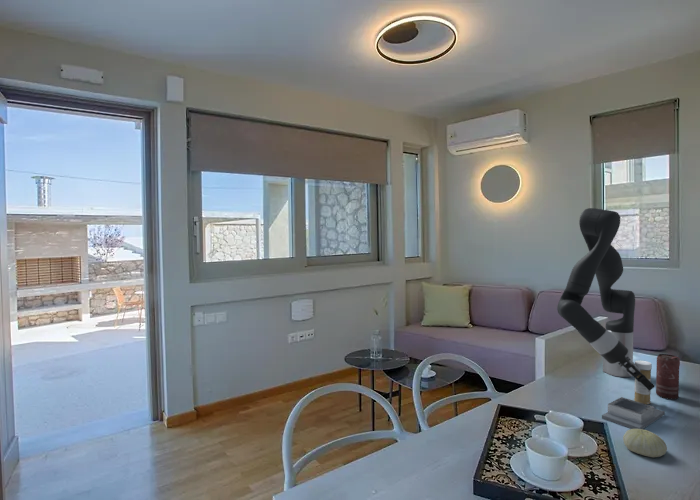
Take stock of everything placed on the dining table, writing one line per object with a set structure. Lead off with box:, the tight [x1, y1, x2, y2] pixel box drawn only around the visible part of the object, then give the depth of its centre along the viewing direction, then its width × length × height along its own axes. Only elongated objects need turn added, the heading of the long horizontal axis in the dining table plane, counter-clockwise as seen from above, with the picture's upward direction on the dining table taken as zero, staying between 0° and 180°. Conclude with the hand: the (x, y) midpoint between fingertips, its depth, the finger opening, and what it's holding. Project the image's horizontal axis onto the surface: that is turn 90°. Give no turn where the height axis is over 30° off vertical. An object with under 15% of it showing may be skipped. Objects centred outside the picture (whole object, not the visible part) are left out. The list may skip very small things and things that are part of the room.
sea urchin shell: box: [622, 428, 668, 458], centre depth 109 cm, size 9×8×8 cm
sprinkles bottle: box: [633, 360, 652, 405], centre depth 138 cm, size 5×5×14 cm
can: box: [655, 353, 681, 401], centre depth 142 cm, size 6×6×14 cm
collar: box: [607, 396, 655, 425], centre depth 126 cm, size 9×9×3 cm
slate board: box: [601, 407, 666, 430], centre depth 128 cm, size 10×18×1 cm, turn 124°
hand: (649, 385), depth 137 cm, fingers closed on sprinkles bottle, 4 cm apart
